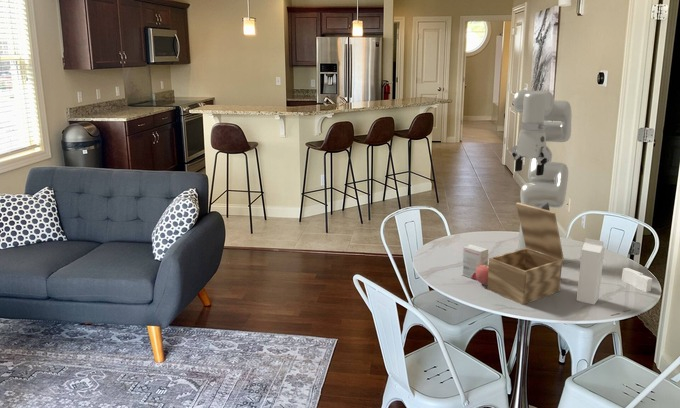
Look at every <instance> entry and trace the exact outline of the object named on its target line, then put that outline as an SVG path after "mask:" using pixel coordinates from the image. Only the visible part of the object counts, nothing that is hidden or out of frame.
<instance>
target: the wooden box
mask: <svg viewBox="0 0 680 408" xmlns="http://www.w3.org/2000/svg"><path fill="white" fill-rule="evenodd" d="M488 265H489V269H488V285H487V287H486V289H487V290H488V291H491V292H493V293H495V294H497V295H499V296H502V297H504V298H506V299H509V300H511V301H513V302H515V303H518V304H520V305H525V304H526V305H527V304H528V303H532V302H534V301H536V300H539V299H542V298H545V297H547V296H551V295H553V294H554V295H555V293H559V292H560V289H561V288H560V287H561V280H562V279H561V278H562V268H563V260H561V259H558V258H555V257H551V256H548V255H545V254H542V253H539V252H536V251H533V250H530V249H527V248H524V249H521V250H517V251H515V250H514V251H511V252H507V253H504V254H501V255H496V256H492V257H490V258H489V257H488Z"/></svg>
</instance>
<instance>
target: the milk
mask: <svg viewBox="0 0 680 408" xmlns="http://www.w3.org/2000/svg"><path fill="white" fill-rule="evenodd" d="M604 255H605V246H604V241H603V240H598V239H591V238H584V243H583V245H582V248H581V254H580V265H579V271H578V272H579V273H578V282H577V283H578V284H577V293H576V301H577V302H582V303H585V304H590V305H596V303H597V302H598V300H599V298H600V290H601V283H602V282H601V281H602V273H603V266H604V265H603V264H604V258H605V257H604Z"/></svg>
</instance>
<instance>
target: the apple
mask: <svg viewBox="0 0 680 408" xmlns="http://www.w3.org/2000/svg"><path fill="white" fill-rule="evenodd" d="M488 269H489V264H488V265H480V266H479V267H478V268H477V269H476V277H477V279H478V280H477V281H478V282H479V283H480V284H482V285H488Z"/></svg>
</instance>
